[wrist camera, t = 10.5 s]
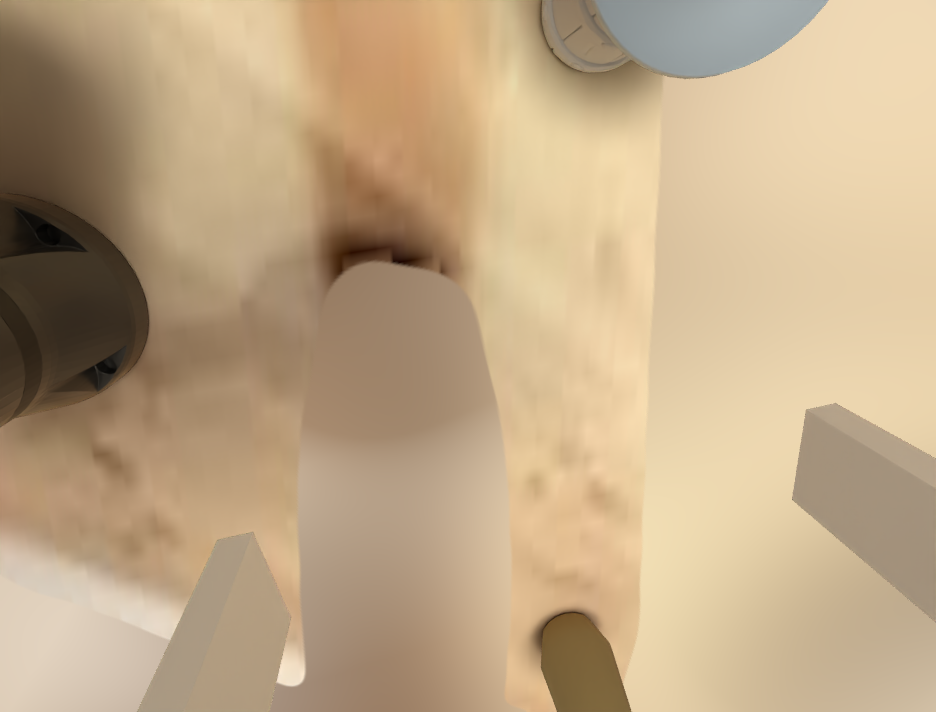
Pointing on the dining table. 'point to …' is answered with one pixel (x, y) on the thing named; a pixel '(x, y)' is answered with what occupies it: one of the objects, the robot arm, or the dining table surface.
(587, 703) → the squeeze bottle
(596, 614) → the dining table surface
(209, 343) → the dining table surface
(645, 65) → the lid
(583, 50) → the mug
